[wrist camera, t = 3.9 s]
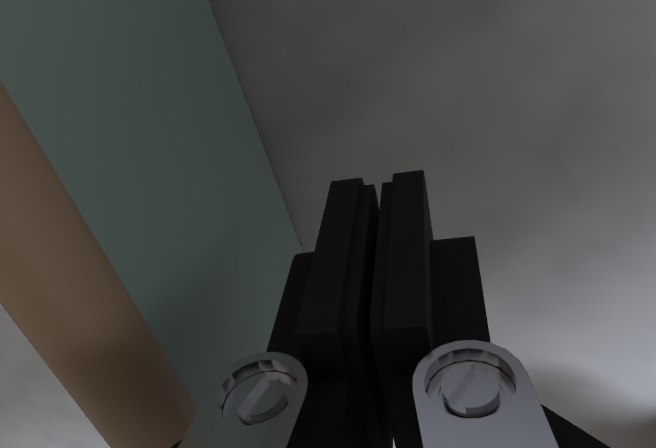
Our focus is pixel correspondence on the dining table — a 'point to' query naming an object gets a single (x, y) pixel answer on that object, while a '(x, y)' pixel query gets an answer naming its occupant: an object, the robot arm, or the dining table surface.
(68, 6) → the gate
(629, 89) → the dining table surface
